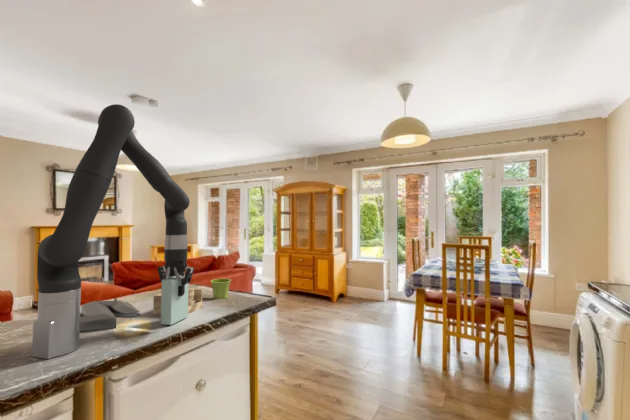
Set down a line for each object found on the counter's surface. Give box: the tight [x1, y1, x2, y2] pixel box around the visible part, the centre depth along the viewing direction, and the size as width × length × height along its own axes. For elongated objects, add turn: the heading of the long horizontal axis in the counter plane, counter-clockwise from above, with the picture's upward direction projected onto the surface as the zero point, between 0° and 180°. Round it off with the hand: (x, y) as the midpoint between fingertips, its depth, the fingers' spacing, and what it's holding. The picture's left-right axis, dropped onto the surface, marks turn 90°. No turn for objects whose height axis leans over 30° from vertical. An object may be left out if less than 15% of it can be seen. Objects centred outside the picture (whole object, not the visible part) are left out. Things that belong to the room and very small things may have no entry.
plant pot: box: [210, 278, 232, 300], centre depth 141 cm, size 9×9×9 cm
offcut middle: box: [188, 295, 194, 303], centre depth 118 cm, size 8×4×2 cm, turn 170°
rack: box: [152, 288, 203, 316], centre depth 119 cm, size 13×13×8 cm
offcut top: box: [188, 287, 195, 297], centre depth 120 cm, size 6×4×2 cm, turn 163°
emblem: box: [80, 300, 141, 333], centre depth 111 cm, size 28×5×28 cm
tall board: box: [160, 276, 189, 326], centre depth 106 cm, size 9×4×15 cm, turn 167°
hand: (175, 295), depth 106 cm, fingers closed on tall board, 4 cm apart
